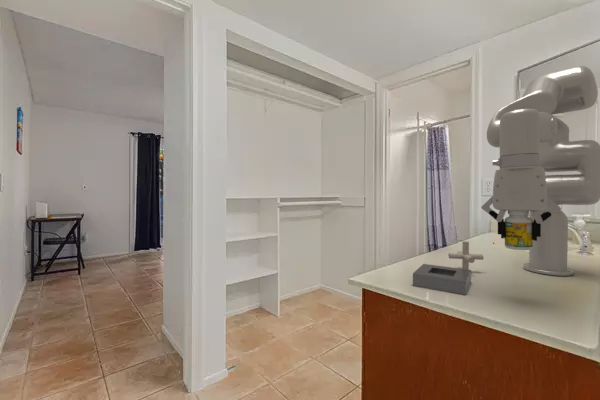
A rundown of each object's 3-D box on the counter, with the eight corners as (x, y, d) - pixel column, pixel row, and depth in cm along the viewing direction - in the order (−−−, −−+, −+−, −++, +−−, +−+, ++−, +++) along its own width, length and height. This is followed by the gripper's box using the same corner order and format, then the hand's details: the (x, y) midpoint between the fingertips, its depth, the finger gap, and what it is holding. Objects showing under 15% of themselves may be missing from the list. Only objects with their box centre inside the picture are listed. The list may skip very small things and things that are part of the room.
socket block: (423, 274, 91) (423, 263, 91) (470, 281, 83) (470, 270, 83) (412, 285, 80) (412, 273, 80) (465, 295, 72) (465, 281, 72)
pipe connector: (489, 276, 88) (489, 244, 88) (454, 275, 90) (454, 243, 90) (475, 268, 98) (476, 239, 97) (444, 266, 100) (444, 238, 99)
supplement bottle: (537, 249, 67) (537, 208, 67) (524, 251, 65) (524, 210, 64) (512, 245, 72) (512, 207, 71) (499, 247, 70) (499, 208, 69)
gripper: (475, 165, 70) (475, 238, 70) (570, 159, 59) (569, 244, 60) (477, 166, 76) (477, 233, 76) (564, 161, 65) (563, 239, 66)
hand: (518, 237), depth 68 cm, fingers closed on supplement bottle, 5 cm apart
